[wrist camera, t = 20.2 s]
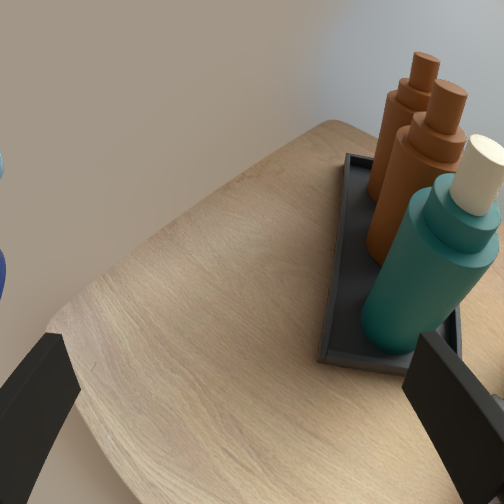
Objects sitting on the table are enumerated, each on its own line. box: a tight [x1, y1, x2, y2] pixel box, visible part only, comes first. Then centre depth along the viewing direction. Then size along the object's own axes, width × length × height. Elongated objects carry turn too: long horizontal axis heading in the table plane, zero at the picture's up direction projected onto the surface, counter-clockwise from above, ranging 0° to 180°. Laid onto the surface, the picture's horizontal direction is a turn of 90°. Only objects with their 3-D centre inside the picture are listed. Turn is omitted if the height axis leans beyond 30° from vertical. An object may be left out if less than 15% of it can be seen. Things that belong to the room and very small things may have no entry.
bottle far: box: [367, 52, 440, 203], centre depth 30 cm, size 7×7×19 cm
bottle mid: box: [366, 79, 468, 266], centre depth 25 cm, size 7×7×19 cm
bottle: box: [361, 135, 504, 355], centre depth 19 cm, size 7×7×19 cm
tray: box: [316, 153, 462, 376], centre depth 32 cm, size 13×28×2 cm, turn 165°
